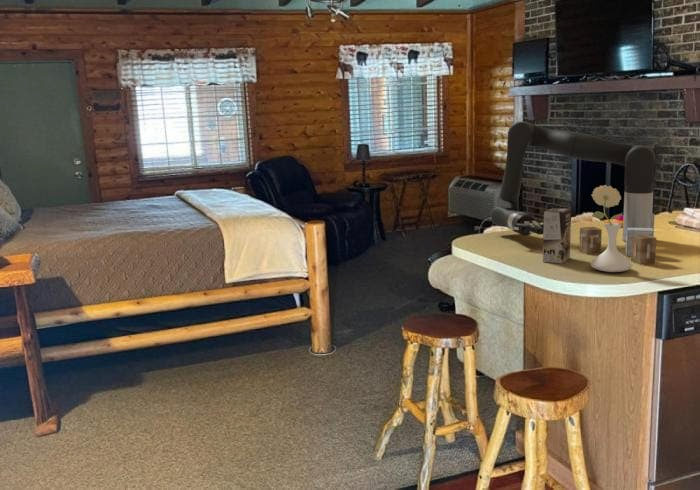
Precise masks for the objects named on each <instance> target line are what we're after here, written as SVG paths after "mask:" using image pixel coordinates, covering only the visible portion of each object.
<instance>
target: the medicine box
mask: <svg viewBox="0 0 700 490" xmlns="http://www.w3.org/2000/svg"><path fill="white" fill-rule="evenodd" d="M637 235H649V236H653V237H655V229H654V230H653V229H652V228H627V230H626V241H625V257H631V244H632V236H637Z"/></svg>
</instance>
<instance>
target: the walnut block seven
mask: <svg viewBox="0 0 700 490" xmlns="http://www.w3.org/2000/svg"><path fill="white" fill-rule="evenodd" d="M602 231H603V230H602V228H599V227H596V226H586V227H585V226H584V227H583V226H581V227H579V243H578V244H579V245H578V246H579V252H581V253H583V254H585V255H595V254H596V253H597V254H602V233H603V232H602Z"/></svg>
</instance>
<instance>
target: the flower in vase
mask: <svg viewBox="0 0 700 490" xmlns="http://www.w3.org/2000/svg"><path fill="white" fill-rule="evenodd" d="M591 197H592V199H593V201H594V202H595V204H597V205H598V206H603V212H601V211H599V210H598V211H595V212H594V213H593V214H591V218H596V219H600V220H602V219H604V217H605V218H606V220H608V221H609V223H605V224H604V223H603V226H604V227H605V229H606V232H607V233H606V234H607V239H608V240H607V247H606V249H605V250H604V251H603V252H601V253H599V254H598V255H597V256H596V257H595V258H593V259H592V260H591V262H590V266H591V267H592V268H593V269H594V270H598V271H601V272H606V273H620V272H626V271H628V270H631V269H632V268H633V264H632V261H631V260H629V259H628V257H627V256H626V255H623V254H622V253H621V252H620V251H619V250H618V248H617V238H618V232H619V230H620V229H621V228H622V227H621V226H622V224H620V223H611V222H610V220H612V219H616V218H617V217H619V216H620V215H623V214H624V211H623V212H621V213H618V214H615V215H613V216H611V218H610V219H609V217H608V216H607V213H606V208H611V207H615V206H618V205H619V203H620V202H621V201H620V200H622V196H621V194H620V191H618V189H617V188H613V187H612V186H611V185H608V186H607V184H604V185H599V186H598V187H595V188H594V189H593V191H592V194H591Z"/></svg>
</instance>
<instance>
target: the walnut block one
mask: <svg viewBox="0 0 700 490" xmlns="http://www.w3.org/2000/svg"><path fill="white" fill-rule="evenodd" d="M656 250H657V237H656V236H654V237H653V236H649V235H637V236H632V244H631V256H630V262H631V263H634V264H637V265H639V266H640V265H641V266H642V265H653V264H654V265H655V264H656V253H657V251H656Z"/></svg>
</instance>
